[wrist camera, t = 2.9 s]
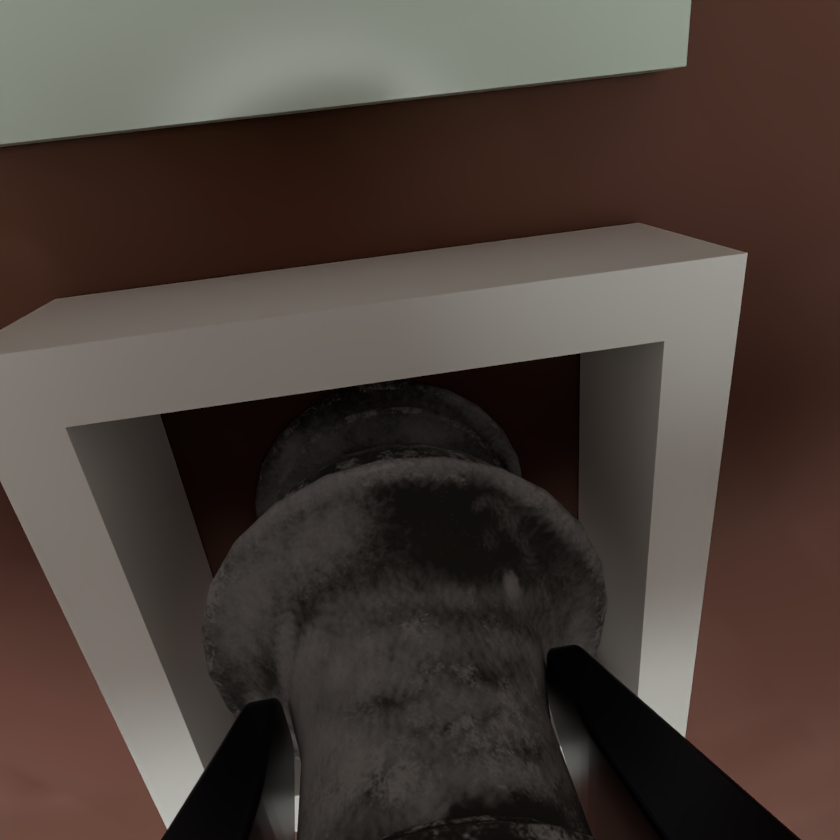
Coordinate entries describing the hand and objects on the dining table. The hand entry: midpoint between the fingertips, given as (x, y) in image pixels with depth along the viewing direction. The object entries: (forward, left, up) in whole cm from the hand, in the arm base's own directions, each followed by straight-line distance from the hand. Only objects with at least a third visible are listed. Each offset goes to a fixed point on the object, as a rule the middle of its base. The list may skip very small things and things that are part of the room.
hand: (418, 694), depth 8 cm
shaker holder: (0, 0, -4) cm, 4 cm away
